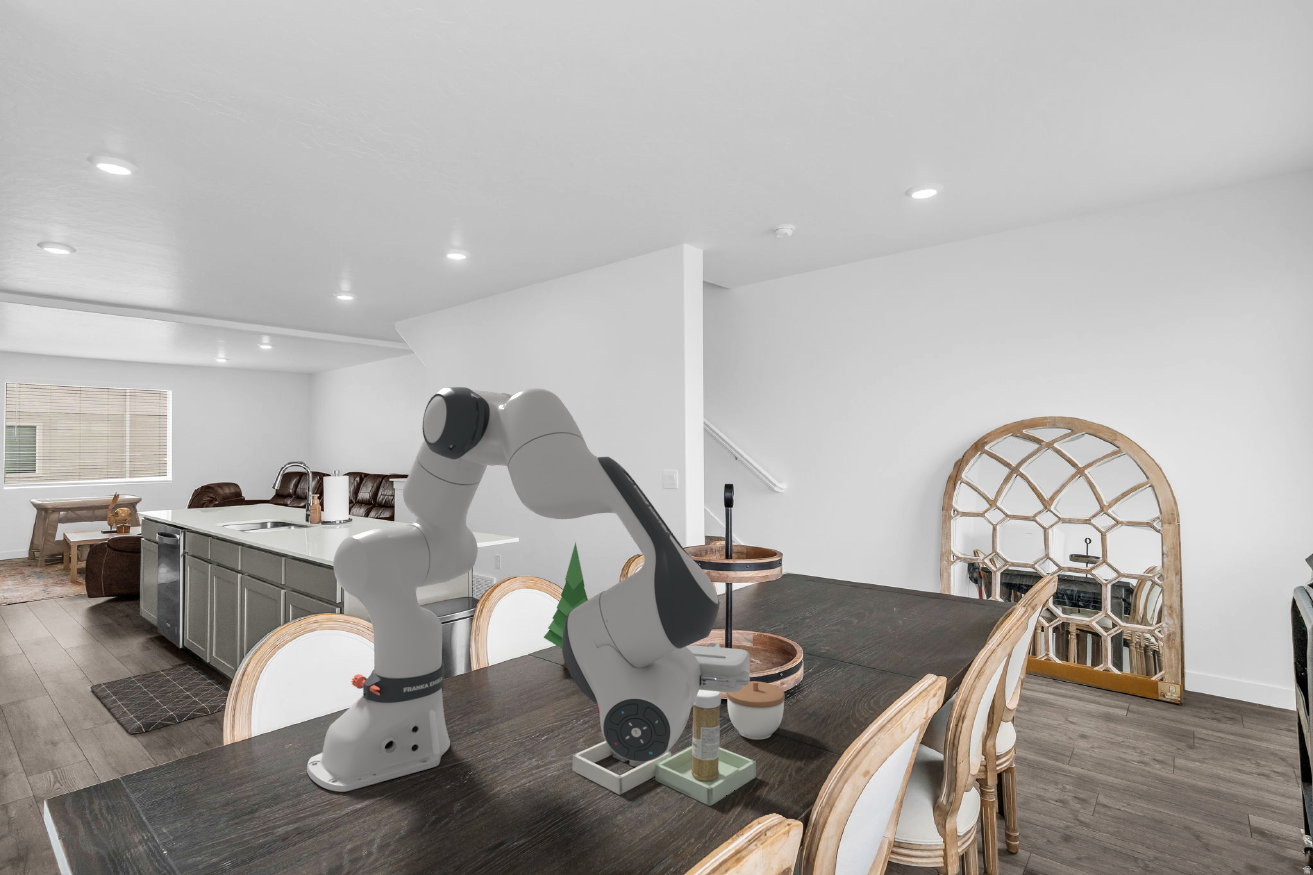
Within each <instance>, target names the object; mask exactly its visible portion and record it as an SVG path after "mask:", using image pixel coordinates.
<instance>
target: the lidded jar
mask: <svg viewBox="0 0 1313 875" xmlns="http://www.w3.org/2000/svg"><path fill="white" fill-rule="evenodd" d="M726 696H727V697H726V698H727V704H726V705H727V706H726V707H727V712H728V715H729V716H728V717H729V719H730V721H731V724H732V725H733V727H734V728H735V729H736V730H737V731H738V733H739V735H740V736H742V737H743V738H746V739H749V740H755V741H758V740H761V741H762V740H765V739H769V738H771V736H772V735H773V734H774V732H776V731H777V729H779V727H780V725H781V723H782V720H783V716H784V710H785V708H784V707H785V698H786V697H785V696H786V695H785V692H784V689H782V688H781V687H779V686H777V685H775V684H772V683H769V682H768V683H767V682H765V681H764V682H763V681H756V680H755V681H754V680H753V681H751V680H750V681H749V684H748V685H747V686H744V687H743V688H742V689H741V690H739V691H736V692H726Z"/></svg>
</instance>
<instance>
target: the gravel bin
mask: <svg viewBox="0 0 1313 875" xmlns="http://www.w3.org/2000/svg"><path fill="white" fill-rule="evenodd" d="M610 756H612V757H613V758H614V759H617V760H618V761H621V762H623V763H626V762H628V761H629V766H632V767H635V768H632V769H631V770H628V771H626V772H625V773H622V774H620V775H619V774H617V773H615V772H613V771H611V770H609V769H607V768H605V767H603V766H601V765H599V764H596V763H597V762H599V761H601V760H604V759H606V758H608V757H610ZM671 756H672V751H670V750H669V751H668V752H667V753H665V754H664V755H663V756H661V757H659V758H657V759H654V760H651V761H647V762H636V761H631V760H627V759H624V758H622V757H620V756H619V755H617V754H616V753H614V752H613V751H612V750H611V749H610V747H609V746H608V744H607V743H606V741H605V740H604V741H602V742H599V743H597V744H595V745H593V746H590V747H589V748H586V749H584V750H581V751H579V752H576V753H574V754H573V755H572V772H574V773H576V774H578V775H580V776H582V777H584V778H586V779H588V780H590V781H591V782H594V784H595V783H596V784H598V785H600V786H601V787H603V788H605V789H607V790H609V791H611V792H612V793H615V794H617V795H618V796H620V795H623V794H624V793H626V792H628V791H630V790H632V789H634V788H635V787H637V786H640V785H642V784H643V783H645V782H647V781H648V780H650V779H652V778H654V777H655V767H656V764H658V763H660V762H662V761H664V760H666V759H668V758H670V757H671Z"/></svg>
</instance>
